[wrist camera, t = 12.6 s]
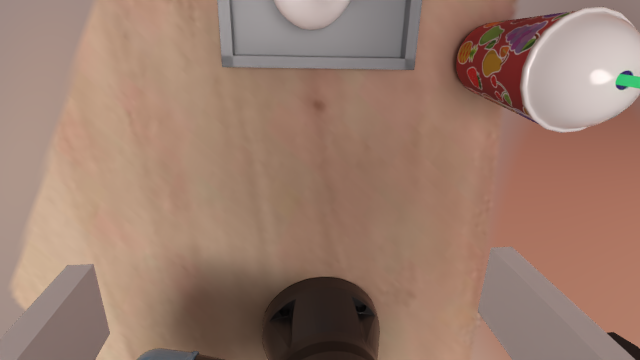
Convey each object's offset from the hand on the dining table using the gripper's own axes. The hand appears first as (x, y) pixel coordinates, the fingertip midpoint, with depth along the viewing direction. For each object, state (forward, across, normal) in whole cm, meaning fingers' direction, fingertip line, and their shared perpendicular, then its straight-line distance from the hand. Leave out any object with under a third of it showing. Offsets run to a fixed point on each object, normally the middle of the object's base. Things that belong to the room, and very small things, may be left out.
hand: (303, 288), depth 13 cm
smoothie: (+28, -20, -6) cm, 35 cm away
